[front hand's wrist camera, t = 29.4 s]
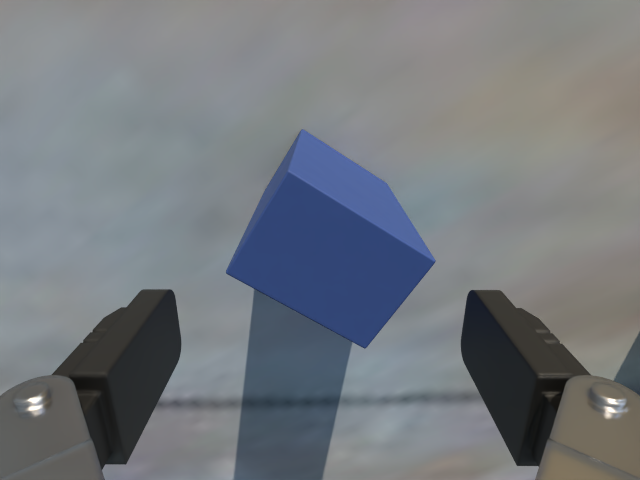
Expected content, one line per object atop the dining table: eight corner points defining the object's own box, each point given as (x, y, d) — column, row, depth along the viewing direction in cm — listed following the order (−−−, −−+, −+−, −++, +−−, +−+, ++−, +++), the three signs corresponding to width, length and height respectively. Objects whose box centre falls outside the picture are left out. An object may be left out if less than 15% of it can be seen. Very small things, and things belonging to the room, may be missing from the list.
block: (302, 128, 23) (288, 169, 13) (387, 183, 24) (436, 261, 14) (264, 191, 24) (224, 273, 14) (347, 240, 25) (365, 349, 15)
